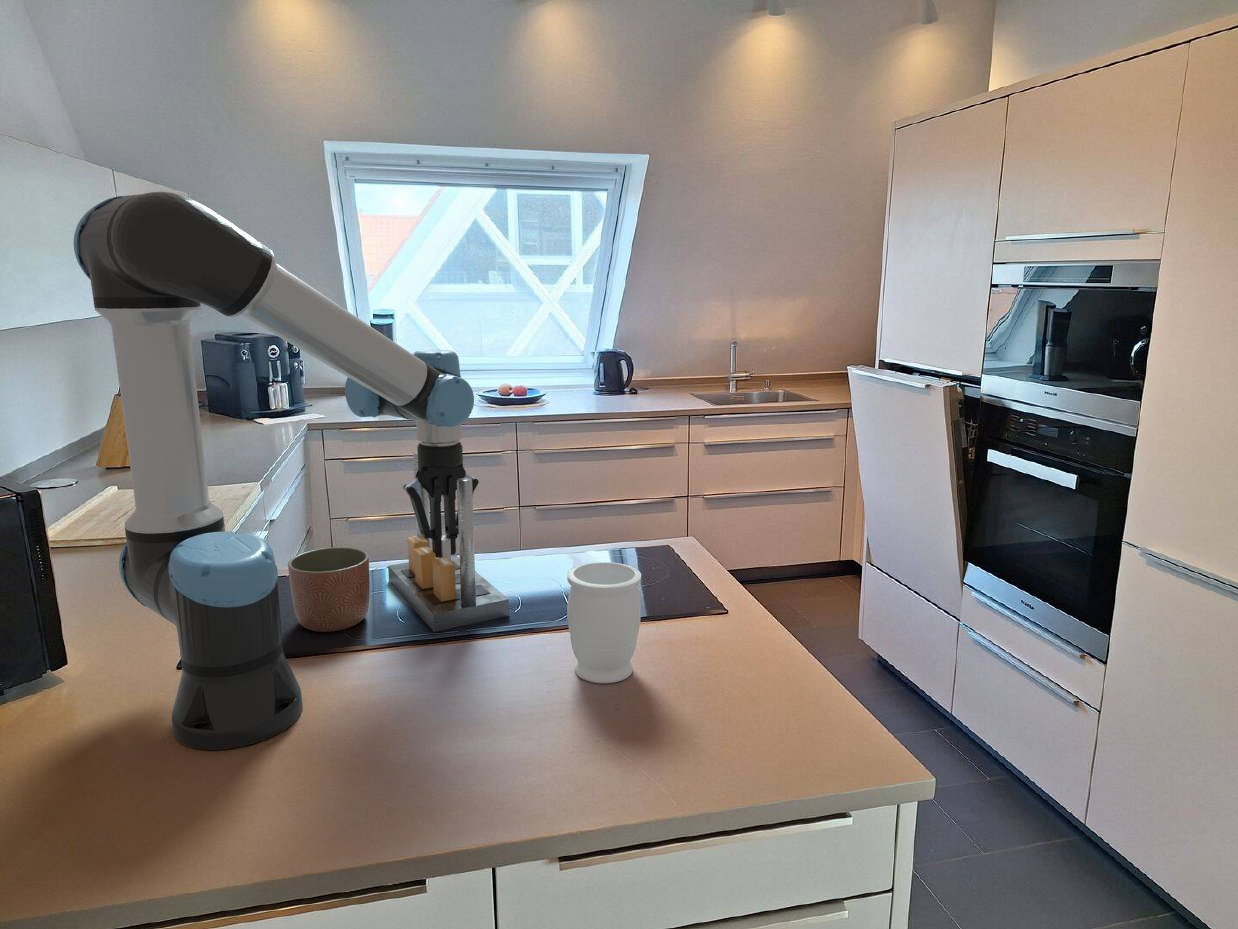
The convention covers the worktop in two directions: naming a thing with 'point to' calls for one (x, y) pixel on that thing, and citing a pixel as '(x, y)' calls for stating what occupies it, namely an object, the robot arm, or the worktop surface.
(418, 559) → the tan upright block
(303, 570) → the planter
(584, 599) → the jar
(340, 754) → the worktop surface
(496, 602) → the peg stand with blocks
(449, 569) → the slotted wooden block
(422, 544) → the tan wooden block
